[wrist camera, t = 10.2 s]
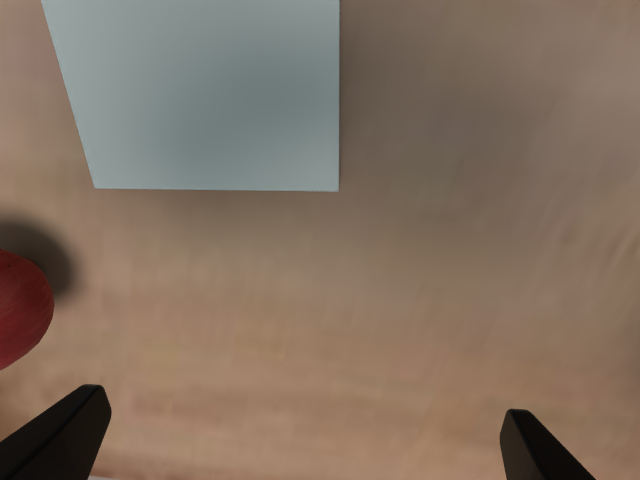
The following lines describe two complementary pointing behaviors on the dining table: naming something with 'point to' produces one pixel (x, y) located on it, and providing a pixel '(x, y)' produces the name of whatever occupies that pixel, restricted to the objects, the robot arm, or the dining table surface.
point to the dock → (203, 91)
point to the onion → (22, 306)
